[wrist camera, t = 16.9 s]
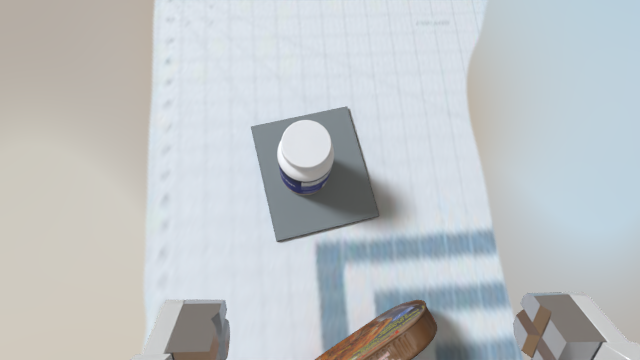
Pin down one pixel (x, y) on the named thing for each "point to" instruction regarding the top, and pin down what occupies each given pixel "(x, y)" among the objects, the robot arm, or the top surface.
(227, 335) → the robot arm
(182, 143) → the top surface
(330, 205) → the mat
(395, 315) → the tin
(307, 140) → the pill bottle
